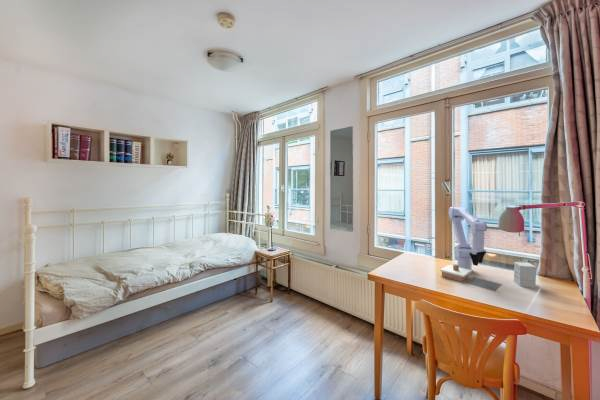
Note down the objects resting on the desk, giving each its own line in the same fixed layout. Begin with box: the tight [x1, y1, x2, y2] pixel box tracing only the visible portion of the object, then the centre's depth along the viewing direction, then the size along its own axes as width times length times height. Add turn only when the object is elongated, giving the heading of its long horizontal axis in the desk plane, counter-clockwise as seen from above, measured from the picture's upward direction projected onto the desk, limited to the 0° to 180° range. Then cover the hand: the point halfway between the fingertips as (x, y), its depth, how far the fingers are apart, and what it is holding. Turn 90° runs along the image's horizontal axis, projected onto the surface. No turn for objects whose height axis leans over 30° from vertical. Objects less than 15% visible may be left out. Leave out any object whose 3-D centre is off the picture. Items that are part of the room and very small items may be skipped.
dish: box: [441, 271, 469, 282], centre depth 156 cm, size 11×11×4 cm
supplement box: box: [513, 261, 537, 289], centre depth 143 cm, size 7×7×13 cm
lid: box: [440, 264, 473, 277], centre depth 155 cm, size 13×13×4 cm
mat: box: [466, 276, 503, 292], centre depth 145 cm, size 14×14×1 cm
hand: (477, 263), depth 150 cm, fingers open, 7 cm apart
